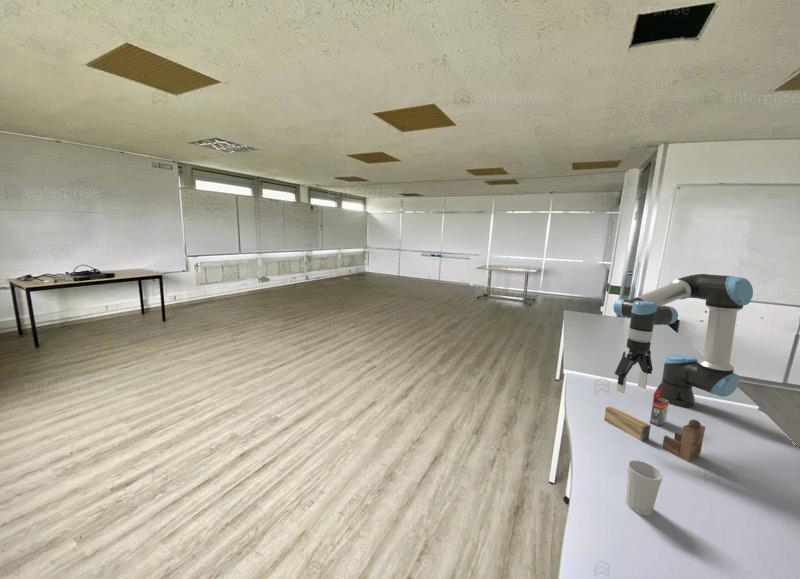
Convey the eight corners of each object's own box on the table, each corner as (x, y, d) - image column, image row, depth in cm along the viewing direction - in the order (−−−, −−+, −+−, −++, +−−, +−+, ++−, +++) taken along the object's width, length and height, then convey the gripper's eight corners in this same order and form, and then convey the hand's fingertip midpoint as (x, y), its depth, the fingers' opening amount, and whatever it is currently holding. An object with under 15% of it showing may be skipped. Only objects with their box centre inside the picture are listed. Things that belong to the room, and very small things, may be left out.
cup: (615, 496, 96) (621, 460, 94) (640, 495, 97) (645, 459, 95) (637, 518, 88) (643, 480, 87) (663, 517, 89) (670, 479, 87)
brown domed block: (675, 443, 123) (681, 409, 121) (700, 457, 116) (707, 420, 114) (662, 448, 120) (668, 412, 118) (687, 461, 113) (694, 424, 111)
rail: (610, 418, 140) (612, 406, 139) (648, 439, 126) (650, 425, 125) (604, 420, 139) (605, 407, 138) (641, 441, 124) (644, 427, 123)
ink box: (666, 421, 139) (671, 390, 137) (659, 426, 135) (664, 394, 133) (656, 417, 142) (661, 387, 140) (649, 422, 138) (654, 391, 136)
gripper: (648, 334, 135) (640, 381, 138) (609, 339, 125) (601, 389, 128) (668, 340, 128) (660, 389, 131) (628, 345, 118) (620, 398, 121)
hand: (631, 389), depth 130 cm, fingers open, 13 cm apart
